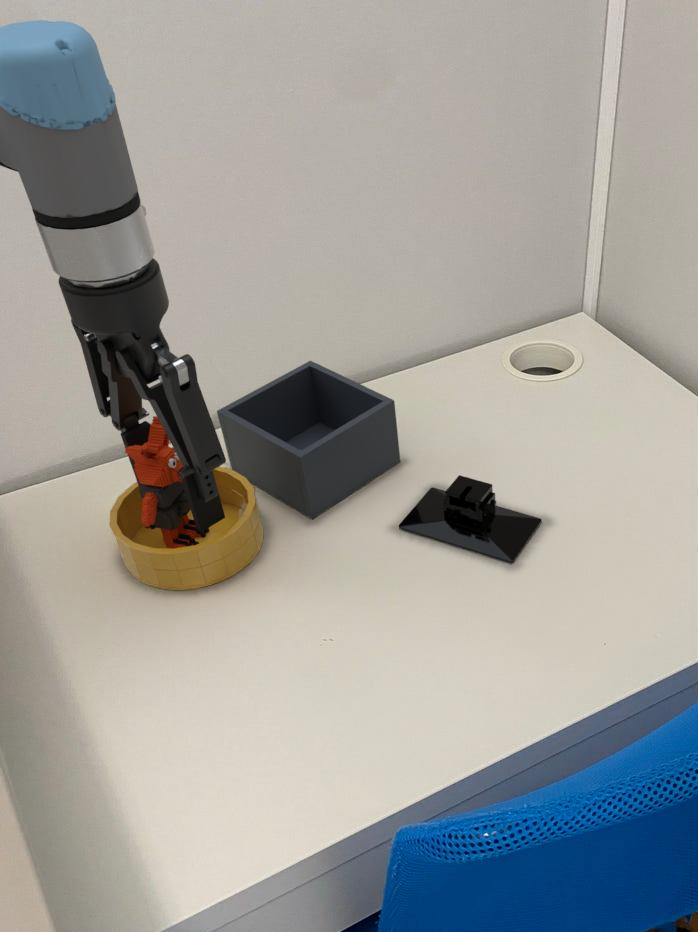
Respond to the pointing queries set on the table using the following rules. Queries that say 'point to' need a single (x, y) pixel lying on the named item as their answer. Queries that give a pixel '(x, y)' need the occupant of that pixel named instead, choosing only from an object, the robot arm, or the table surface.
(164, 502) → the toy animal
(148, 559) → the bowl
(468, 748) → the table surface
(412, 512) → the build plate
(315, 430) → the bin
